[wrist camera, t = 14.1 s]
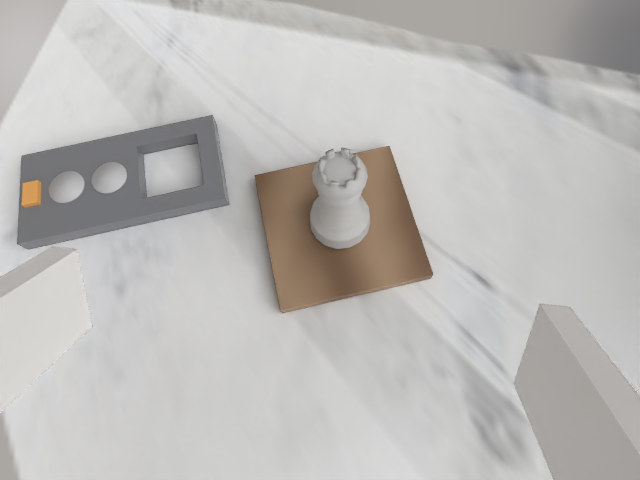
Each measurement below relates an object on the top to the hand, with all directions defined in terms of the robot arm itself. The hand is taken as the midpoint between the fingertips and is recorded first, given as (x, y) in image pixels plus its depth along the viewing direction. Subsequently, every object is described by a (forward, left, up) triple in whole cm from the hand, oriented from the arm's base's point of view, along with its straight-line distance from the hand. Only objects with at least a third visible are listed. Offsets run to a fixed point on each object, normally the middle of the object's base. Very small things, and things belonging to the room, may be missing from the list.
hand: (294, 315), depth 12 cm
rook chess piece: (-4, -9, -17) cm, 19 cm away
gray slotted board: (+12, -18, -17) cm, 28 cm away
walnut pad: (-4, -10, -17) cm, 20 cm away
